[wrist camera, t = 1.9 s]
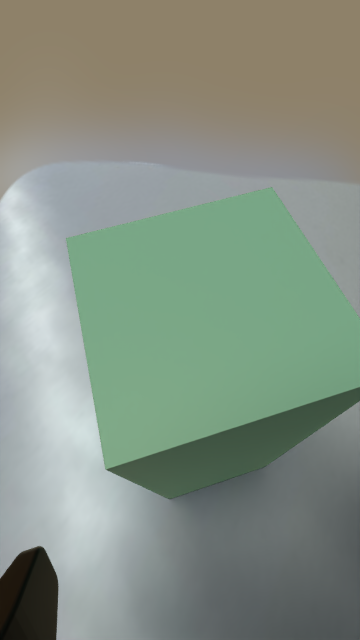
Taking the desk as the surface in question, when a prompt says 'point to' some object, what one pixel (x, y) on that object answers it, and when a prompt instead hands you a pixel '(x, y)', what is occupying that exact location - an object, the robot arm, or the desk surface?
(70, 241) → the tall green square pillar
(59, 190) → the desk surface
